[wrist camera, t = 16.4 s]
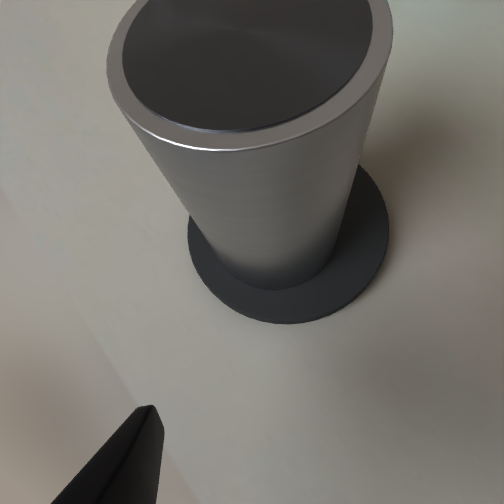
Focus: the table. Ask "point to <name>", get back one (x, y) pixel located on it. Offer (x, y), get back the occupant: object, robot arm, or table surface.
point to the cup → (255, 118)
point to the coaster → (325, 281)
